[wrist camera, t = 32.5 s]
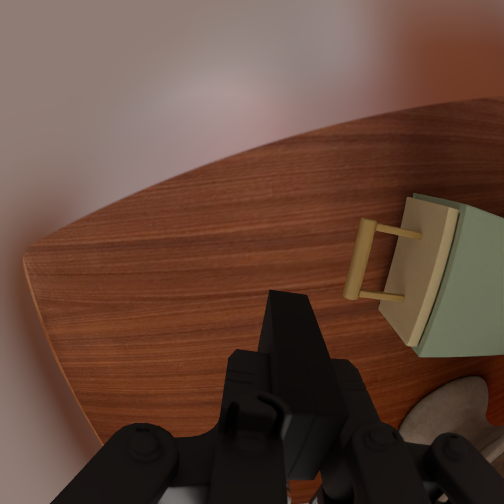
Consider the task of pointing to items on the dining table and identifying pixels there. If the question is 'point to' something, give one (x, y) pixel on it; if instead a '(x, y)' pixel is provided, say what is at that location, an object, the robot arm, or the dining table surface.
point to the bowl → (457, 419)
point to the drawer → (407, 265)
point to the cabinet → (469, 289)
